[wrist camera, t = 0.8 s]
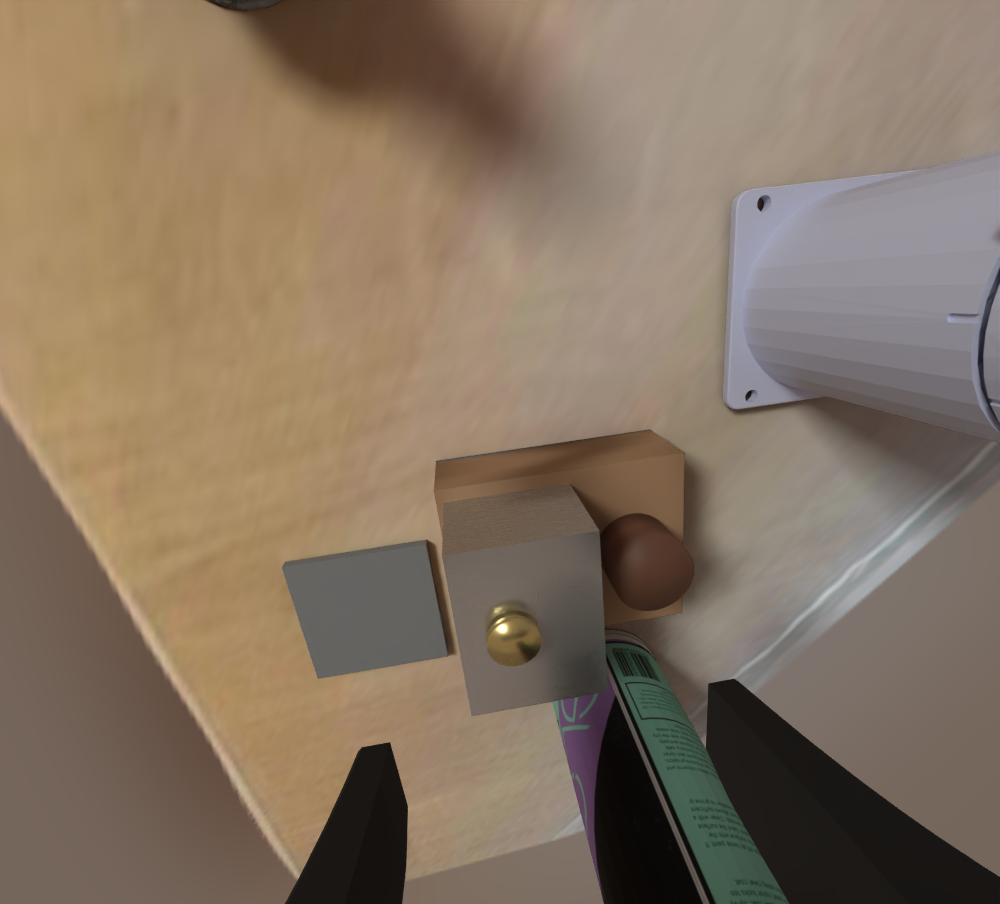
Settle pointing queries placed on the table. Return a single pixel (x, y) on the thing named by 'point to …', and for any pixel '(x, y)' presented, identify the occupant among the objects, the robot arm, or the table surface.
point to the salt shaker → (245, 4)
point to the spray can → (655, 793)
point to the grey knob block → (526, 597)
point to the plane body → (602, 509)
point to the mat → (368, 608)
